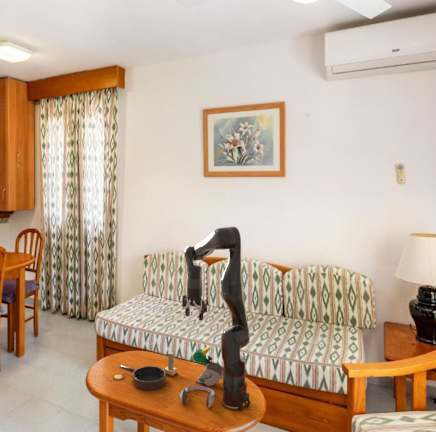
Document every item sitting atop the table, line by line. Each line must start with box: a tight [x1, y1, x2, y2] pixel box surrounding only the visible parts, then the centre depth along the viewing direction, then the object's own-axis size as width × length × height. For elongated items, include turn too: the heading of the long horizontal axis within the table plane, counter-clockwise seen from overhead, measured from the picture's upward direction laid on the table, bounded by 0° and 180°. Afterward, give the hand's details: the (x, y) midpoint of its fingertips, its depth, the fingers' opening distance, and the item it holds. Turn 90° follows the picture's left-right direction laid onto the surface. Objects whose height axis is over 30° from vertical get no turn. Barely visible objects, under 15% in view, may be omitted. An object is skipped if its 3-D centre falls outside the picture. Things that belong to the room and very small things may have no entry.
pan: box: [132, 365, 167, 392], centre depth 181 cm, size 15×15×4 cm
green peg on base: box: [163, 351, 178, 378], centre depth 189 cm, size 5×4×11 cm
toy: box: [192, 346, 223, 389], centre depth 181 cm, size 6×17×20 cm
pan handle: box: [119, 364, 136, 374], centre depth 188 cm, size 11×2×2 cm, turn 58°
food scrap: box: [113, 374, 124, 380], centre depth 185 cm, size 4×4×1 cm
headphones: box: [169, 385, 216, 409], centre depth 167 cm, size 17×6×20 cm
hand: (194, 317), depth 194 cm, fingers open, 8 cm apart
